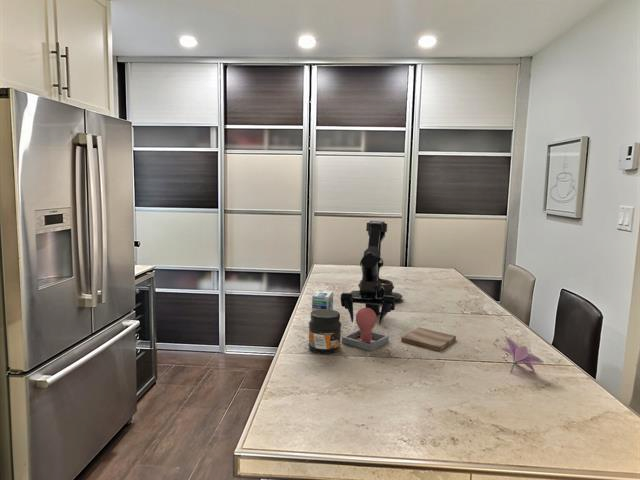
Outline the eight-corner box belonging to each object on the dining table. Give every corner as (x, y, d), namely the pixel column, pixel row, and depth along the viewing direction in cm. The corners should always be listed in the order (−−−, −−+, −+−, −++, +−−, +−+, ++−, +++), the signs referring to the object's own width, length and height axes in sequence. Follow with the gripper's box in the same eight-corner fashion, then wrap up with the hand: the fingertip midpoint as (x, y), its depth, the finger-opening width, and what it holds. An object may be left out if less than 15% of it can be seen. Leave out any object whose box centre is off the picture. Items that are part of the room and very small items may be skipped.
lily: (545, 385, 124) (553, 352, 127) (509, 369, 123) (518, 336, 125) (518, 379, 136) (526, 349, 138) (485, 365, 135) (493, 335, 137)
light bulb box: (328, 324, 169) (329, 297, 168) (311, 323, 170) (311, 295, 169) (333, 316, 179) (333, 290, 178) (316, 315, 181) (317, 289, 179)
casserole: (348, 302, 202) (348, 284, 200) (350, 292, 220) (350, 276, 219) (403, 305, 199) (404, 287, 198) (401, 295, 217) (401, 278, 216)
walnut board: (418, 331, 164) (418, 327, 164) (455, 340, 156) (455, 335, 155) (401, 341, 153) (401, 337, 153) (439, 351, 145) (440, 346, 144)
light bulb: (353, 338, 155) (354, 305, 153) (373, 338, 155) (374, 305, 154) (356, 345, 148) (357, 310, 146) (377, 345, 148) (379, 311, 147)
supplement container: (317, 356, 137) (318, 319, 136) (302, 345, 147) (303, 310, 145) (346, 351, 142) (347, 315, 141) (330, 341, 152) (331, 306, 150)
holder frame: (359, 333, 159) (360, 328, 159) (388, 341, 152) (388, 335, 152) (341, 342, 150) (341, 336, 150) (371, 351, 143) (371, 345, 143)
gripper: (342, 269, 154) (336, 309, 145) (396, 273, 151) (394, 313, 141) (344, 287, 163) (339, 325, 153) (395, 290, 160) (393, 329, 150)
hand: (365, 323), depth 149 cm, fingers open, 9 cm apart
